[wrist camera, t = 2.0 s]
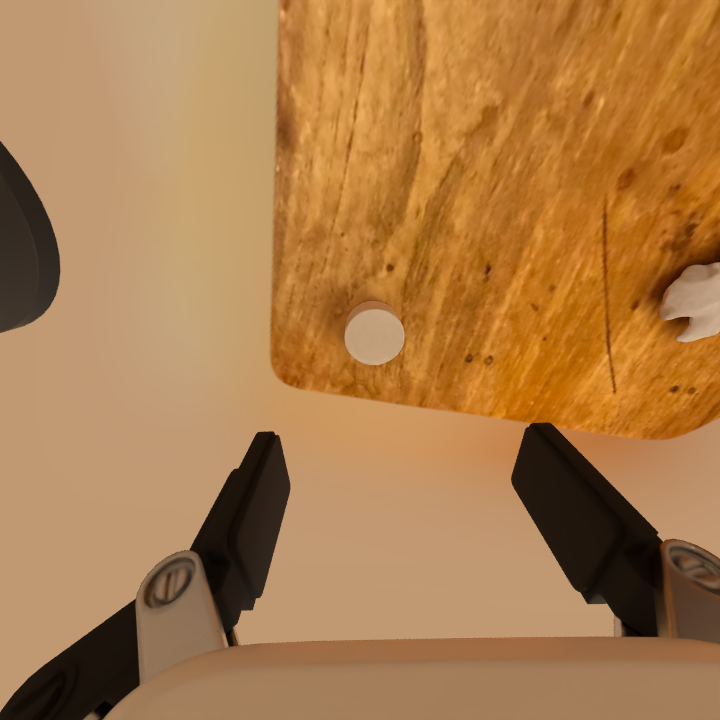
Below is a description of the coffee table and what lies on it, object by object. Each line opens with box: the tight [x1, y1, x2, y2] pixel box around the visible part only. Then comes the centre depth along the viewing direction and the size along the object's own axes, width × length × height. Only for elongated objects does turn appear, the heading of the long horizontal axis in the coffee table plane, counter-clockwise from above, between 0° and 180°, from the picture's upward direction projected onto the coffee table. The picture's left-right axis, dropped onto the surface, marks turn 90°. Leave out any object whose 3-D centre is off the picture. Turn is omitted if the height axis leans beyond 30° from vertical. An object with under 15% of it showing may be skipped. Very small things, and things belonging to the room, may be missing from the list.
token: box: [344, 301, 405, 365], centre depth 20 cm, size 4×4×2 cm
